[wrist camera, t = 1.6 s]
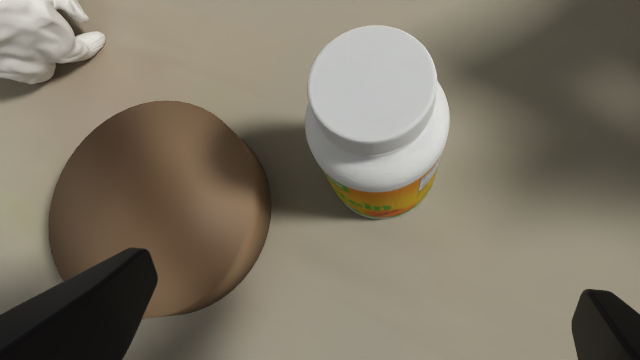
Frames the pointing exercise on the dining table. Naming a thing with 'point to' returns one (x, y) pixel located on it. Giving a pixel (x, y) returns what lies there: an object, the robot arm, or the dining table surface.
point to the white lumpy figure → (41, 38)
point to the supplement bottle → (377, 120)
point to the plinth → (164, 203)
